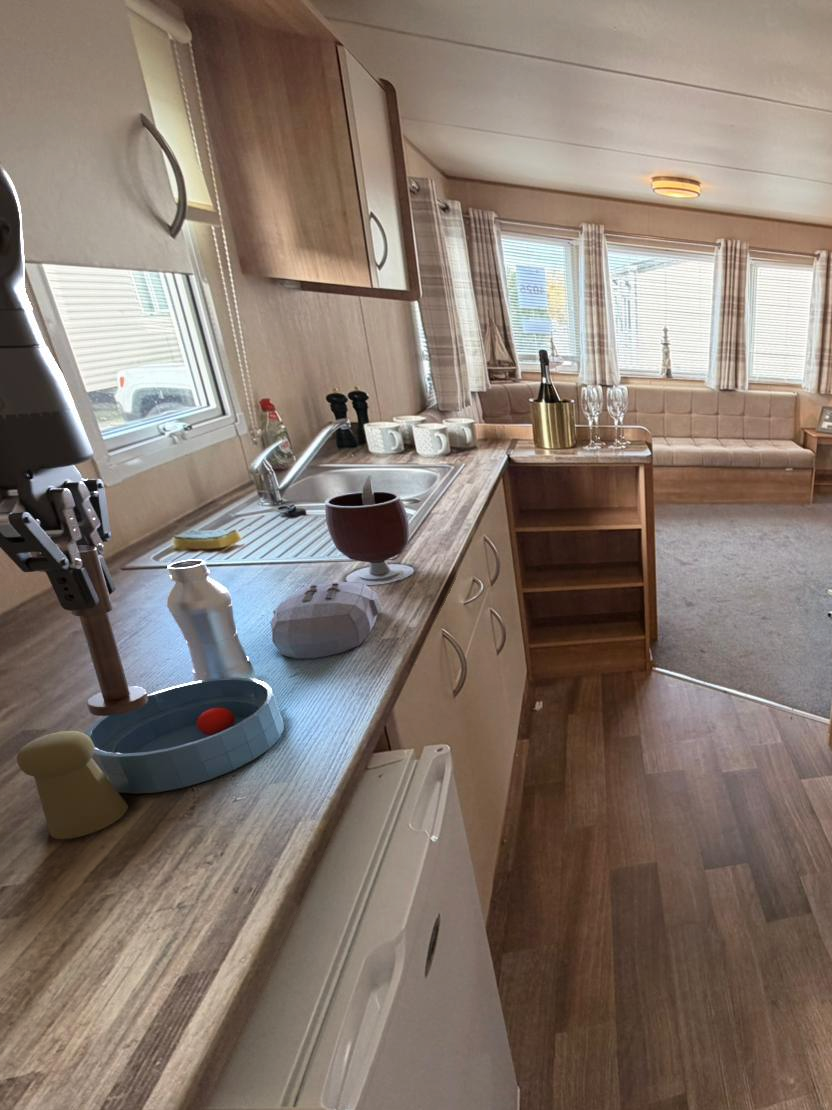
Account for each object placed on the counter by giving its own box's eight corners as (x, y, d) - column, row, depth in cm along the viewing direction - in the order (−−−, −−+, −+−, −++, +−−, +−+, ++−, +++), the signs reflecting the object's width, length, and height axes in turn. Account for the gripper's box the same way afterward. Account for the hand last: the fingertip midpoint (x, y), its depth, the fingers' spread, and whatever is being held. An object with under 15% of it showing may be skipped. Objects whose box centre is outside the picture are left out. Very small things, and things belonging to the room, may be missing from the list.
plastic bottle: (198, 690, 93) (149, 562, 85) (256, 675, 98) (216, 552, 90) (203, 709, 89) (152, 576, 81) (264, 692, 94) (222, 565, 86)
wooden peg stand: (84, 720, 59) (34, 557, 54) (94, 699, 62) (47, 543, 57) (144, 710, 62) (102, 554, 56) (151, 691, 65) (111, 541, 59)
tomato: (222, 743, 82) (193, 729, 79) (214, 737, 84) (185, 723, 81) (245, 719, 83) (218, 705, 81) (237, 714, 85) (210, 700, 83)
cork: (33, 839, 67) (-15, 753, 62) (99, 800, 72) (59, 719, 68) (83, 847, 66) (38, 761, 62) (146, 807, 71) (108, 726, 67)
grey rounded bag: (293, 619, 116) (259, 670, 99) (281, 576, 112) (243, 622, 96) (390, 608, 121) (373, 656, 105) (380, 568, 118) (361, 610, 101)
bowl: (71, 815, 70) (48, 771, 68) (140, 729, 84) (123, 691, 82) (265, 778, 77) (250, 737, 74) (299, 705, 91) (287, 668, 89)
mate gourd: (413, 585, 132) (393, 491, 124) (334, 592, 127) (308, 494, 119) (423, 561, 145) (406, 474, 137) (352, 566, 140) (329, 476, 132)
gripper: (-6, 395, 55) (75, 579, 62) (-132, 418, 44) (-16, 640, 51) (109, 395, 58) (174, 571, 65) (20, 416, 47) (110, 626, 54)
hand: (90, 600), depth 58 cm, fingers closed on wooden peg stand, 2 cm apart
